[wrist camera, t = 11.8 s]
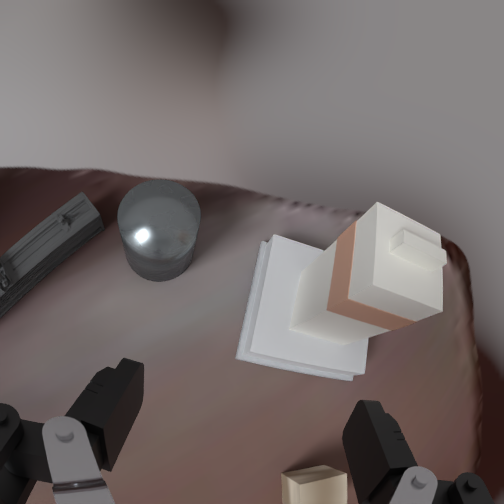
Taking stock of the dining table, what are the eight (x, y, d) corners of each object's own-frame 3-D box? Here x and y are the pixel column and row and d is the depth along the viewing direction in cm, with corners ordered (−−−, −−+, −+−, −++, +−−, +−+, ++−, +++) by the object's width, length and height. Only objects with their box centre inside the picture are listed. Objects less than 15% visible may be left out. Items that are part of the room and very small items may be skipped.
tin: (115, 269, 25) (104, 238, 20) (139, 210, 28) (136, 170, 22) (181, 290, 26) (186, 264, 21) (201, 229, 29) (210, 192, 23)
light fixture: (106, 232, 26) (97, 200, 22) (-11, 331, 20) (-43, 317, 15) (88, 209, 27) (77, 174, 22) (-25, 303, 20) (-56, 284, 15)
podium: (235, 358, 25) (243, 355, 22) (260, 243, 30) (270, 228, 27) (349, 381, 26) (367, 379, 24) (359, 275, 31) (376, 264, 28)
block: (282, 510, 20) (300, 526, 16) (280, 472, 21) (299, 484, 18) (324, 501, 21) (346, 513, 17) (323, 464, 22) (346, 473, 19)
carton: (288, 329, 24) (386, 276, 13) (300, 271, 26) (388, 189, 15) (344, 345, 24) (458, 306, 14) (352, 289, 27) (453, 225, 16)
